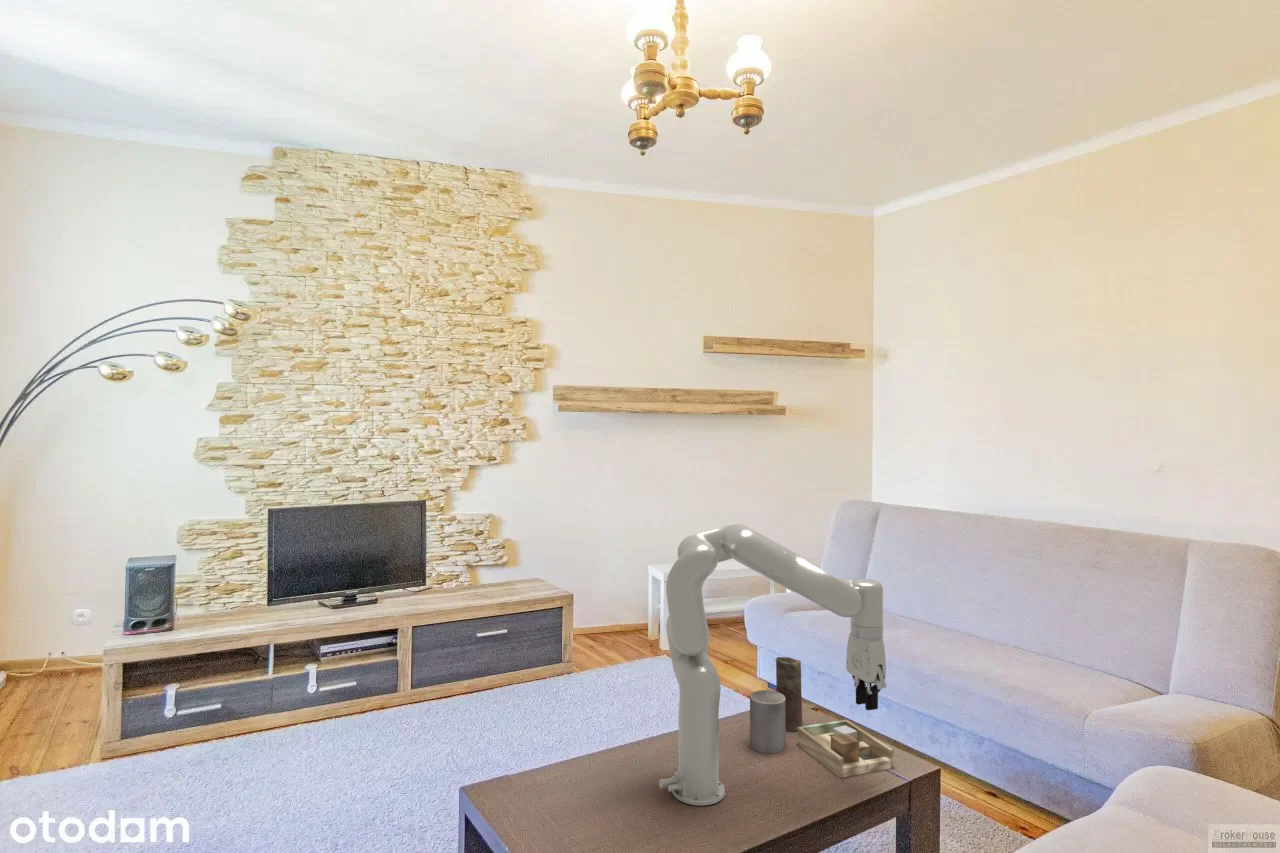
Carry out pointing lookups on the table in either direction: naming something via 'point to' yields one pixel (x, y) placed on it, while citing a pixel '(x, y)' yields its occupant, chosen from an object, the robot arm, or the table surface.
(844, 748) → the walnut block
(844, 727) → the trapped grey block
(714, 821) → the table surface
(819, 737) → the tray
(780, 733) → the pillar candle
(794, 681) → the brown wooden cylinder
